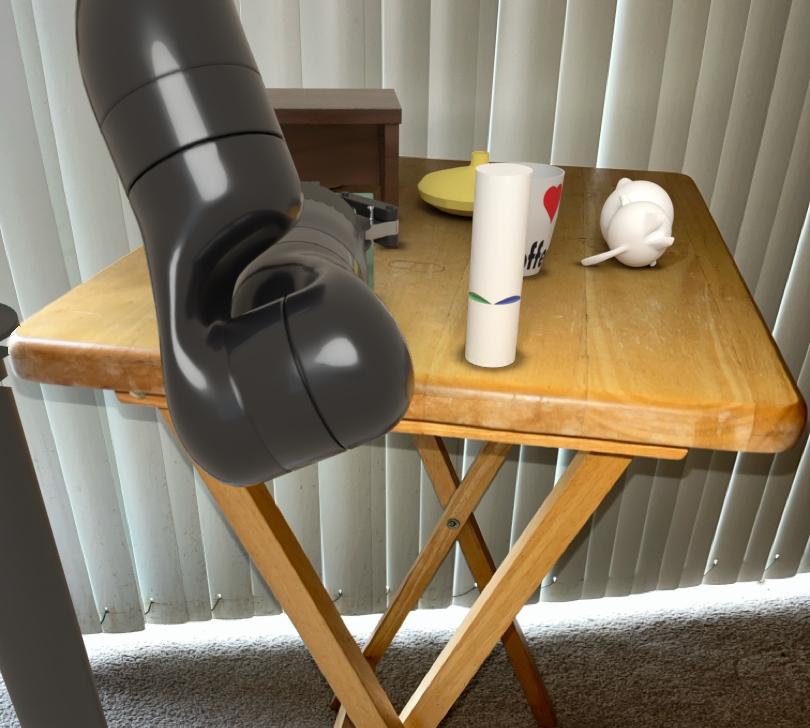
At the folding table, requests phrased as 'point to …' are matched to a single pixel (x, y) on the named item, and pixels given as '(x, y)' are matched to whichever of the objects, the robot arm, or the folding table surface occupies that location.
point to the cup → (541, 213)
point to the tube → (497, 262)
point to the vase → (453, 186)
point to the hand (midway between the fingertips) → (310, 195)
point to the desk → (342, 136)
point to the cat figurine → (636, 224)
